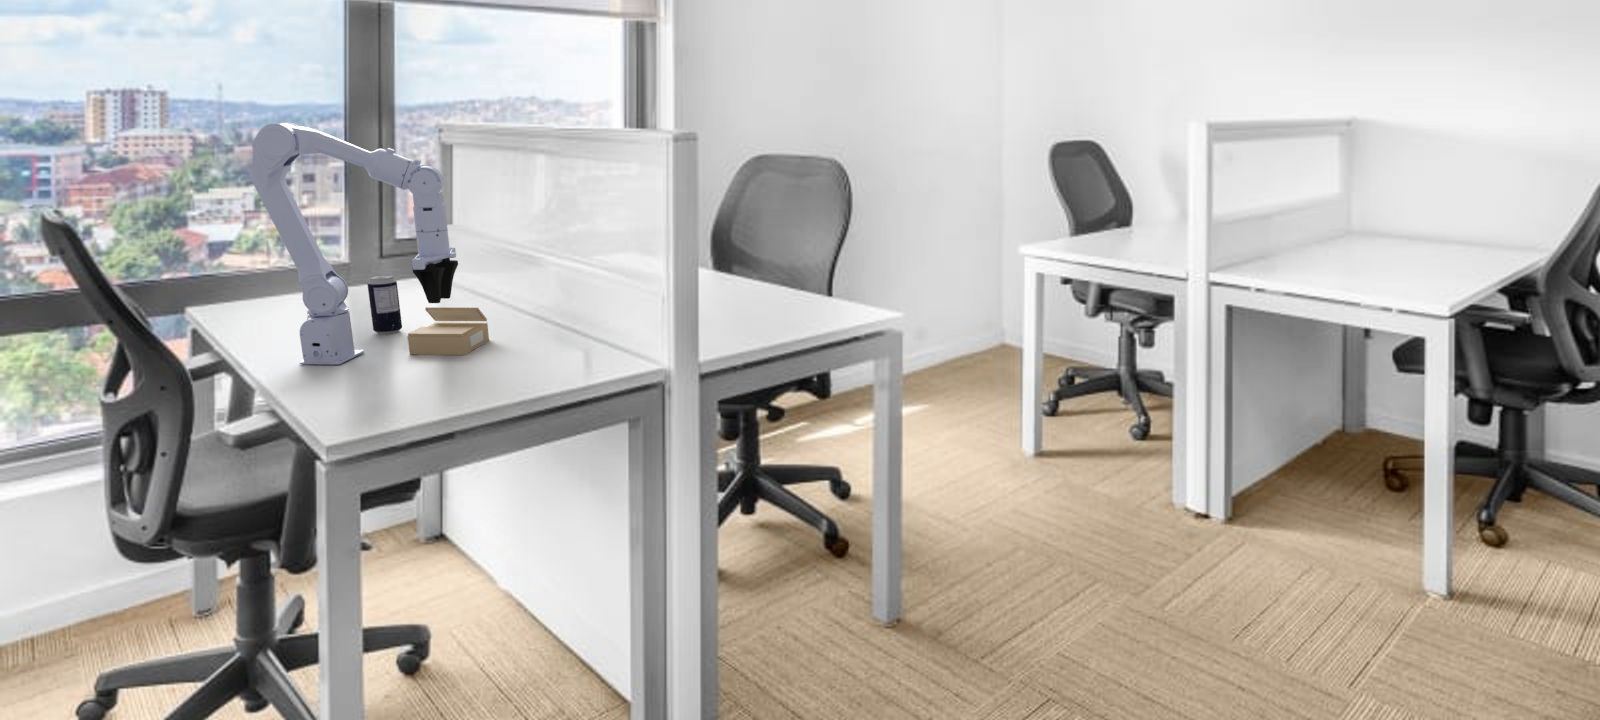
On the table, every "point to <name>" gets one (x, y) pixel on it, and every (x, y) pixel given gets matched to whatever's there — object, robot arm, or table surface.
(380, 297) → the beverage can
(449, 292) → the robot arm
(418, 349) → the carton
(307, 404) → the table surface
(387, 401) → the table surface
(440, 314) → the flap
